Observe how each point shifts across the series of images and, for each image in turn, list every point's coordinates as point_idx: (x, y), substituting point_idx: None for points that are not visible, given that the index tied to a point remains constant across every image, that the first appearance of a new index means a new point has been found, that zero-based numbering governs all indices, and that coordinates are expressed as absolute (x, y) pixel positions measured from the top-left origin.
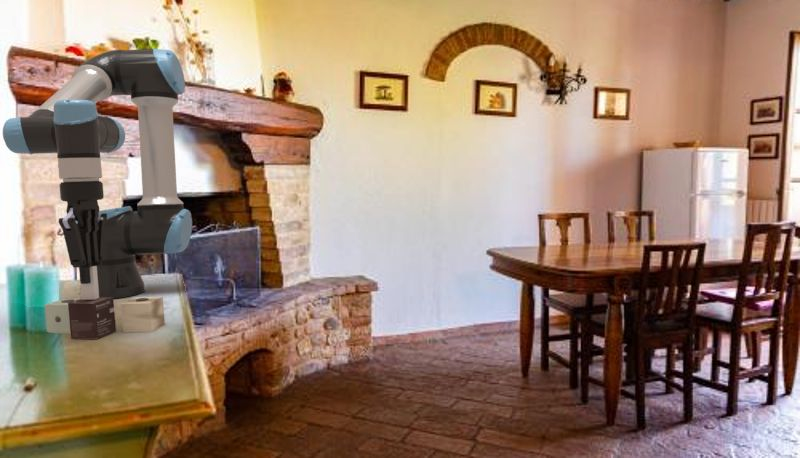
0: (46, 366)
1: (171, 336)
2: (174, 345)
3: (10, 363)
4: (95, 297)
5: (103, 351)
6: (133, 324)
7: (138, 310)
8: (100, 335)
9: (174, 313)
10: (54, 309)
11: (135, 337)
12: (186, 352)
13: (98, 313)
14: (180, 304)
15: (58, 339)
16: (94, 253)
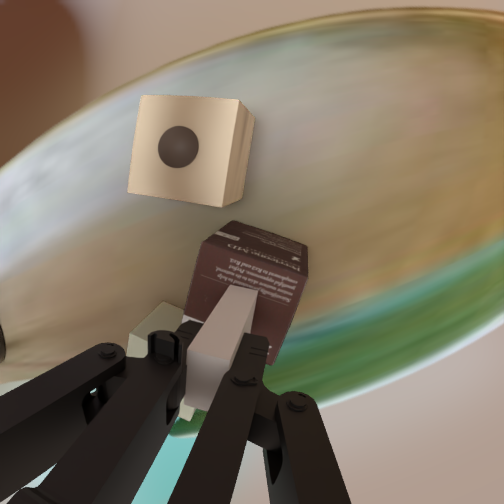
0: (483, 279)
1: (317, 55)
2: (400, 39)
3: (437, 355)
4: (254, 292)
5: (422, 192)
6: (242, 167)
7: (237, 145)
8: (293, 242)
9: (80, 133)
10: None
11: (308, 145)
12: (448, 18)
13: (292, 258)
14: (18, 158)
15: None
16: (157, 400)
